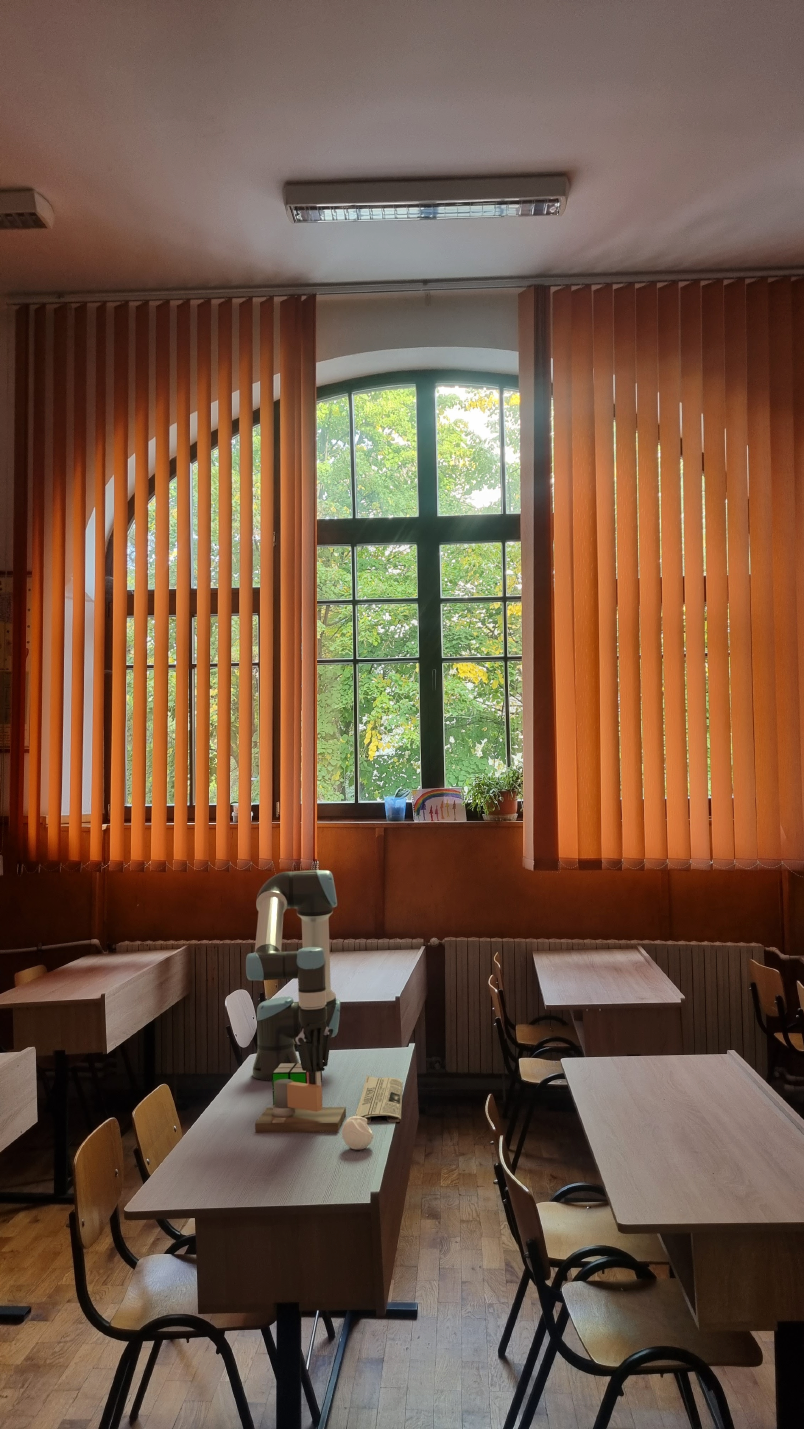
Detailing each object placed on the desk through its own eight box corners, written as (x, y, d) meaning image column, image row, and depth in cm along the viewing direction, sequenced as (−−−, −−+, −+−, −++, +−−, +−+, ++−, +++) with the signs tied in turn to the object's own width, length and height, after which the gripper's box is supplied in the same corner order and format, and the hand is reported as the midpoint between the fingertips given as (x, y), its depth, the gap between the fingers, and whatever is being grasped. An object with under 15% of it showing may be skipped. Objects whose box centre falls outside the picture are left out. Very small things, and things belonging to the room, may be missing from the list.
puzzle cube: (314, 1098, 282) (313, 1062, 283) (307, 1108, 272) (306, 1072, 273) (280, 1098, 283) (279, 1063, 284) (272, 1109, 273) (271, 1072, 274)
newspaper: (401, 1124, 258) (400, 1110, 258) (354, 1125, 258) (353, 1112, 258) (402, 1085, 293) (402, 1073, 293) (361, 1086, 293) (361, 1074, 293)
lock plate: (267, 1116, 266) (266, 1100, 267) (345, 1116, 264) (345, 1099, 265) (255, 1132, 254) (254, 1115, 254) (338, 1132, 251) (337, 1114, 252)
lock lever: (282, 1100, 265) (281, 1078, 265) (325, 1107, 257) (324, 1084, 258) (270, 1106, 260) (270, 1083, 261) (314, 1113, 253) (313, 1089, 254)
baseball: (375, 1153, 236) (374, 1120, 236) (344, 1156, 234) (343, 1123, 235) (371, 1142, 243) (370, 1110, 244) (341, 1144, 242) (340, 1113, 243)
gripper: (320, 1000, 269) (323, 1087, 267) (285, 1009, 259) (288, 1100, 257) (339, 1003, 264) (342, 1092, 262) (304, 1012, 254) (308, 1105, 252)
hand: (316, 1096), depth 260 cm, fingers closed
